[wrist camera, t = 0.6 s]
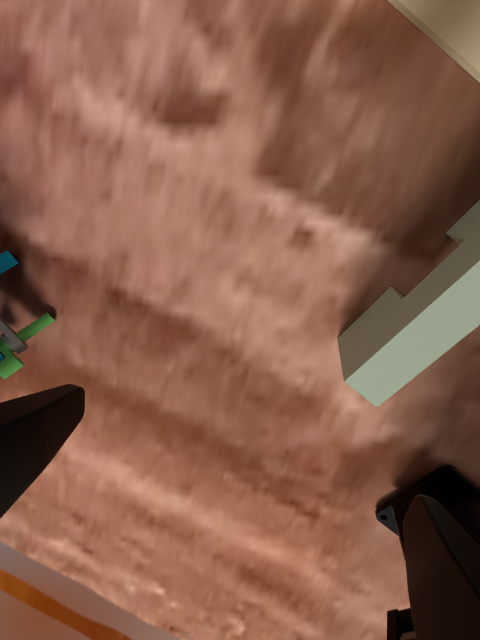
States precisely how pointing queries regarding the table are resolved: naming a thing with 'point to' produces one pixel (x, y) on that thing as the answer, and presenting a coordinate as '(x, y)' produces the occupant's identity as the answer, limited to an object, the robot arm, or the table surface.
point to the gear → (10, 337)
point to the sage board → (416, 320)
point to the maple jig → (448, 27)
